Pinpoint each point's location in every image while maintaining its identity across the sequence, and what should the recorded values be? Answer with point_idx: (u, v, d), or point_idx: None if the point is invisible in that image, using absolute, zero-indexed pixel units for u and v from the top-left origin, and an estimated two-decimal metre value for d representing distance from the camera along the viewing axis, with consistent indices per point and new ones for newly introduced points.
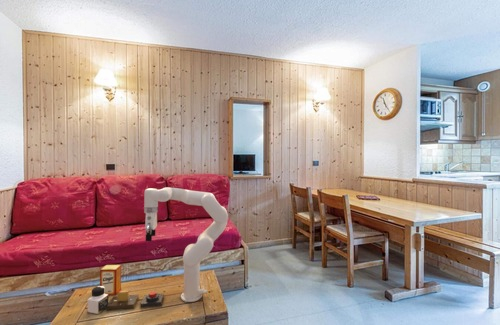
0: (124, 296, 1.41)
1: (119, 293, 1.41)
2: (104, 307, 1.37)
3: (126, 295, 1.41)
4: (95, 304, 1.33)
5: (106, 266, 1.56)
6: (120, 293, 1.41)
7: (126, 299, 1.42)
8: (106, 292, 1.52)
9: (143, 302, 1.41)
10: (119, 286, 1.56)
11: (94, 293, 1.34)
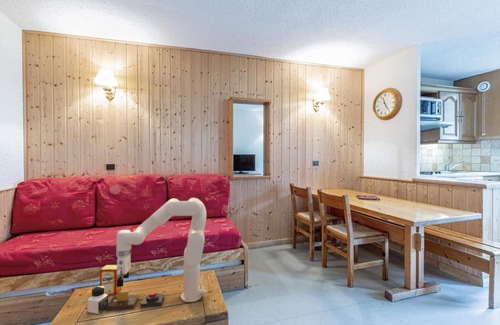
0: (124, 296, 1.41)
1: (119, 293, 1.41)
2: (104, 307, 1.37)
3: (126, 295, 1.41)
4: (95, 304, 1.33)
5: (106, 266, 1.56)
6: (120, 293, 1.41)
7: (126, 299, 1.42)
8: (106, 292, 1.52)
9: (143, 302, 1.41)
10: None
11: (94, 293, 1.34)
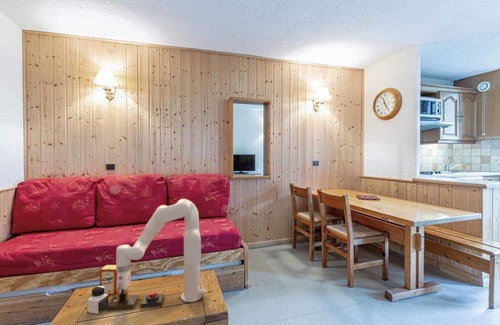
0: None
1: None
2: (104, 307, 1.37)
3: (126, 295, 1.41)
4: (95, 304, 1.33)
5: (106, 266, 1.56)
6: None
7: (126, 299, 1.42)
8: (106, 292, 1.52)
9: (143, 302, 1.41)
10: None
11: (94, 293, 1.34)
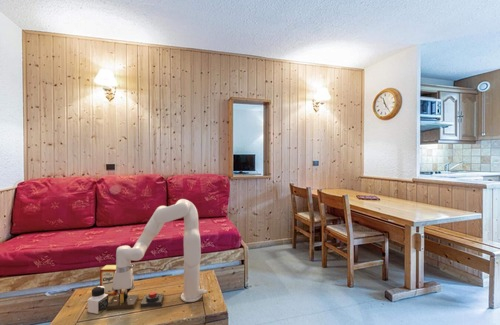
0: None
1: (123, 293, 1.40)
2: (104, 307, 1.37)
3: None
4: (95, 304, 1.33)
5: (106, 266, 1.56)
6: (124, 293, 1.41)
7: None
8: (106, 292, 1.52)
9: (143, 302, 1.41)
10: None
11: (94, 293, 1.34)
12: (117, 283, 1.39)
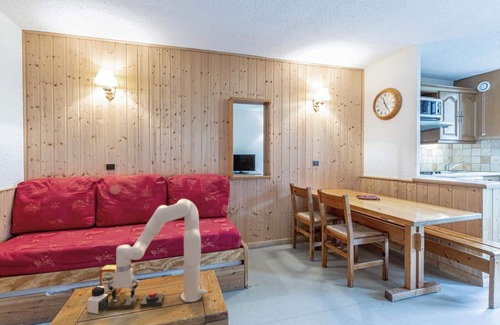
0: (125, 294, 1.43)
1: (123, 293, 1.40)
2: (104, 307, 1.37)
3: None
4: (95, 304, 1.33)
5: (106, 266, 1.56)
6: (124, 293, 1.41)
7: None
8: (106, 292, 1.52)
9: (143, 302, 1.41)
10: None
11: (94, 293, 1.34)
12: (117, 282, 1.39)
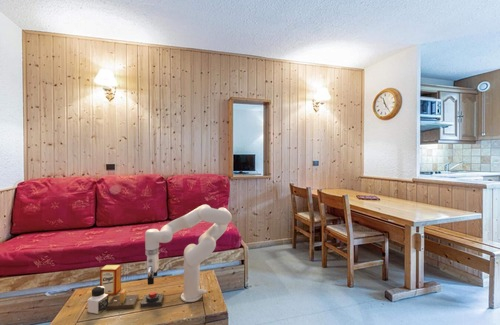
0: (125, 294, 1.43)
1: (123, 293, 1.40)
2: (104, 307, 1.37)
3: None
4: (95, 304, 1.33)
5: (106, 266, 1.56)
6: (124, 293, 1.41)
7: None
8: (106, 292, 1.52)
9: (143, 302, 1.41)
10: (119, 286, 1.56)
11: (94, 293, 1.34)
12: None
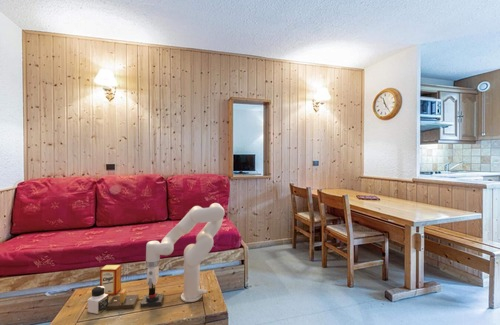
0: (125, 294, 1.43)
1: (123, 293, 1.40)
2: (104, 307, 1.37)
3: None
4: (95, 304, 1.33)
5: (106, 266, 1.56)
6: (124, 293, 1.41)
7: None
8: (106, 292, 1.52)
9: (143, 302, 1.41)
10: (119, 286, 1.56)
11: (94, 293, 1.34)
12: None
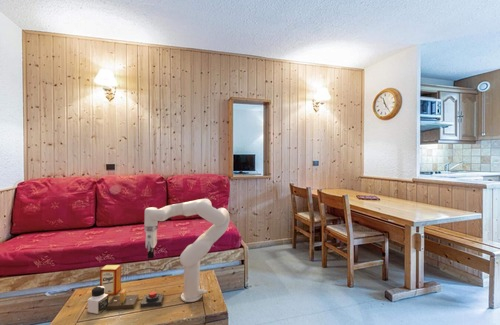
0: (125, 294, 1.43)
1: (123, 293, 1.40)
2: (104, 307, 1.37)
3: None
4: (95, 304, 1.33)
5: (106, 266, 1.56)
6: (124, 293, 1.41)
7: None
8: (106, 292, 1.52)
9: (143, 302, 1.41)
10: (119, 286, 1.56)
11: (94, 293, 1.34)
12: None
